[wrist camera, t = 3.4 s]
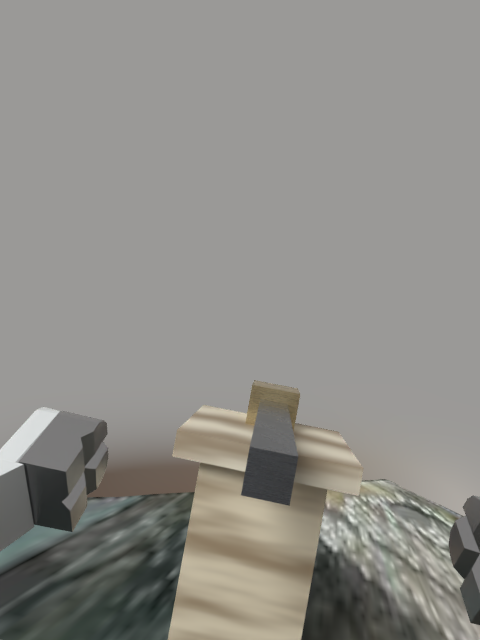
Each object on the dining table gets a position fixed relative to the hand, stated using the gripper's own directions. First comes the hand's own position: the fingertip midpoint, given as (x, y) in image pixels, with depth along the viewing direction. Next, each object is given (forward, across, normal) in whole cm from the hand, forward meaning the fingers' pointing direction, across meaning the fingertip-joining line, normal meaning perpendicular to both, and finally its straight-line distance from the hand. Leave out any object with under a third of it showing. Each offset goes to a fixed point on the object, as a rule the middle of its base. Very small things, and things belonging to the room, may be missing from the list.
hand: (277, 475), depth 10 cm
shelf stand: (+9, 0, -41) cm, 42 cm away
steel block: (+18, 0, -16) cm, 24 cm away
